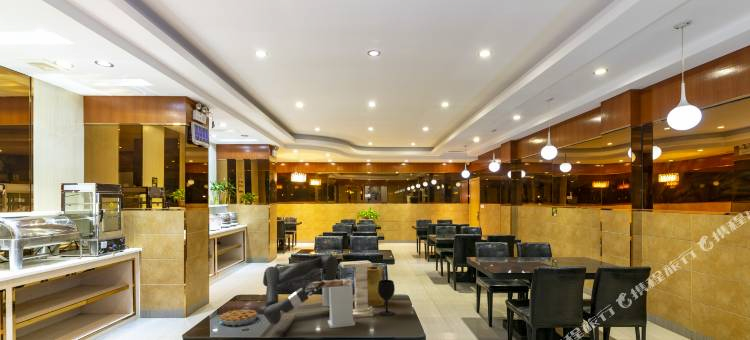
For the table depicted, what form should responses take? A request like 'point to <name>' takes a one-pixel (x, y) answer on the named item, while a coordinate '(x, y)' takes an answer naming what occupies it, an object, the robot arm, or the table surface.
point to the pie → (238, 317)
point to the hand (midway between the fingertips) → (322, 280)
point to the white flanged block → (341, 306)
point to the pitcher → (374, 285)
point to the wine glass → (386, 294)
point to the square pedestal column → (360, 287)
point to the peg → (335, 283)
